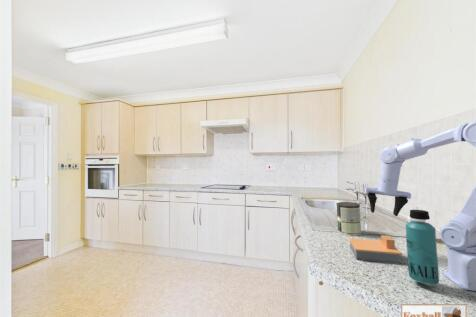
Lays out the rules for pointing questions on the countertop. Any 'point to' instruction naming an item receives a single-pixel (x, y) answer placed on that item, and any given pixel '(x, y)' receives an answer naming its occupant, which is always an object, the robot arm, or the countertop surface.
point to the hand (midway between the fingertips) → (383, 213)
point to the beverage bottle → (422, 249)
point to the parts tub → (376, 256)
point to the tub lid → (376, 245)
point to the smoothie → (414, 219)
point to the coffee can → (348, 218)
